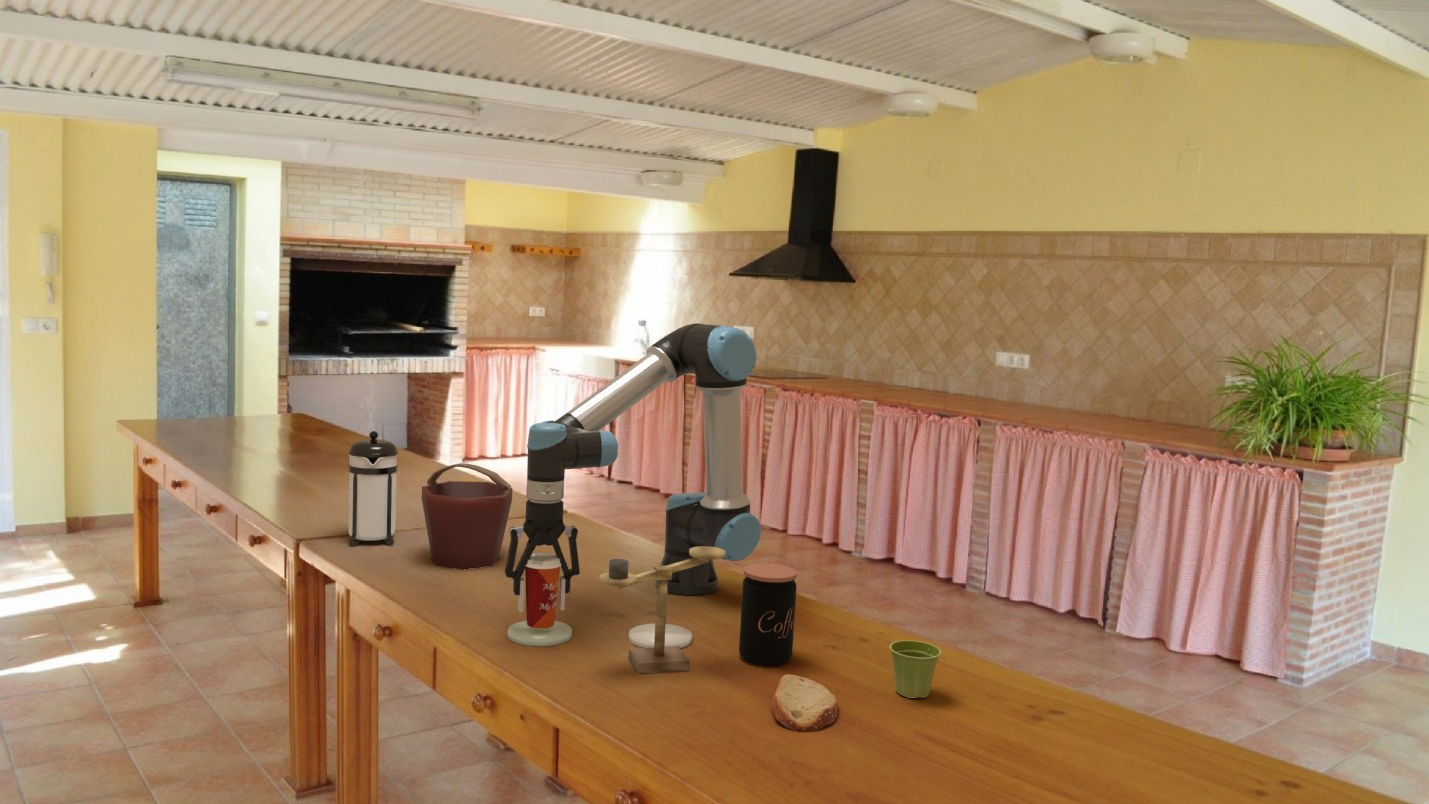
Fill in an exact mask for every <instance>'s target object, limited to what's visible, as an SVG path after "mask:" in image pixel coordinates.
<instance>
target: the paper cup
mask: <svg viewBox="0 0 1429 804" xmlns="http://www.w3.org/2000/svg"><path fill="white" fill-rule="evenodd" d="M560 571H561V564H560V559H558V558H557V556H556V554H553V553H532V555H531V557H530V559H529V560H528V562H527V565H526V568H525V570H524V572H525V573H524V574H525V575H524V576H525V608H526V609H525V613H526V621H527V625H528V626H529V627H532V628H549V627H552V626H553V625H554V621H556V619H555V618H556V611H557V601H558V594H559V580H560Z"/></svg>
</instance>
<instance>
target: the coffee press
mask: <svg viewBox="0 0 1429 804" xmlns="http://www.w3.org/2000/svg"><path fill="white" fill-rule="evenodd" d="M368 436H369V439H362V440H361V439H360V440H358V441H357V440H356V441H355V442H354V443H352V444H351V445H350V447H349V449H348V451H347V454H348V457H349V459H348V460H349V463H348V468H347V469H348V474H349V475H348V478H349V479H348V528H347V529H348V535H349V536H350V538H349V541H348V545H349V546H351V547H356V546H357V544H358V543H359V542H361V541H383V542H384V543H385V544H386V546H392V545H394V544H395V540H394V538H393V537H394V535H395V533H396V507H397V504H396V503H397V472H398V463H397V462H398V461H397V460H398V459H397V458H398V455H399V449H397V448H398V447H397V446H396V444H395V443H393V442H392V441H389V440H386V439H385V440H384V439H378V437H379V433H378V432H377V431H373V430H372V431H370V433H369V434H368Z"/></svg>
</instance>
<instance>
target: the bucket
mask: <svg viewBox="0 0 1429 804" xmlns="http://www.w3.org/2000/svg"><path fill="white" fill-rule="evenodd" d="M453 468H465V469H470V470H473V471H474V472H478V473H480V474H483V475H484V476H486V477H488V478H489V479H490V480H491V481H492V482H490V481H464V480H463V481H457V480H456V481H455V480H452V481H451V480H449V481H444V482H437V481H438V479H439V478H440V477H441V475H443V473H445V472H447V471H449V470H451V469H453ZM426 483H427V484H426V485H425V486H422V487H421V503H422V508H423V514H424V520H425V526H426V532H427V537H428V543H429V550H430V555H431V559H432V561H433V563H434V564H435V566H436V567H441V568H446V569H454V568H456V569H455V570H461V569H462V570H461V571H463V570H464V569H466V570H472V569H471V568H474V569H481V568H480V567H482V568H488V567H487V566H490V567H492V566H494V564H496V563H497V561H498V560H499V559H500V556H501V555H500V554H501V550H502V546H503V545H502V544H503V543H504V542H503V541H504V537H505V532H506V528H507V523H508V518H509V515H510V511H511V510H510V509H511V505H512V501H513V487H512V486H511V485H512V484H510V483H509V482H507V481H506V480H505V479H503V478H502V477H501V476H500V475H499V473H497V472H495V471H493V470H490V469H487V468H485V467H482V466H480V465H475V464H471V463H463V462H462V463H461V462H460V463H455V464H451V465H448V466H444V467H442V468H439V469H437V470H436V471H434V472H432V474H431V475H430V476H429V478H428V479H427V481H426ZM497 559H498V560H497ZM485 566H486V567H485ZM469 568H470V569H469ZM464 571H465V570H464Z"/></svg>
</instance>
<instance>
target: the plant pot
mask: <svg viewBox="0 0 1429 804" xmlns="http://www.w3.org/2000/svg"><path fill="white" fill-rule="evenodd" d="M889 650H890V651H891V657H892V659H893V670H894V671H893V673H894V686H895V687H894V688H895V692H896V691H897V692H896V693H897V694H898V693H899V694H901V695H903V696H908V697H915V698H916V699H920V698H919V697H924V696H928V695H929V696H930V691H931V688H932V682H933V678H934V674H935V669H936V666H937V665H936V664H937V663H938V661H939V658H940V657H941V655H942V650H941V649H940V647H938V646H936V645H935V644H932V643H929V642H925V641H920V640H913V639H910V640H909V639H907V640H906V639H904V640H897V641H893V642H892V643H890V645H889ZM899 694H898V695H899ZM929 696H928V697H929Z"/></svg>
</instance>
